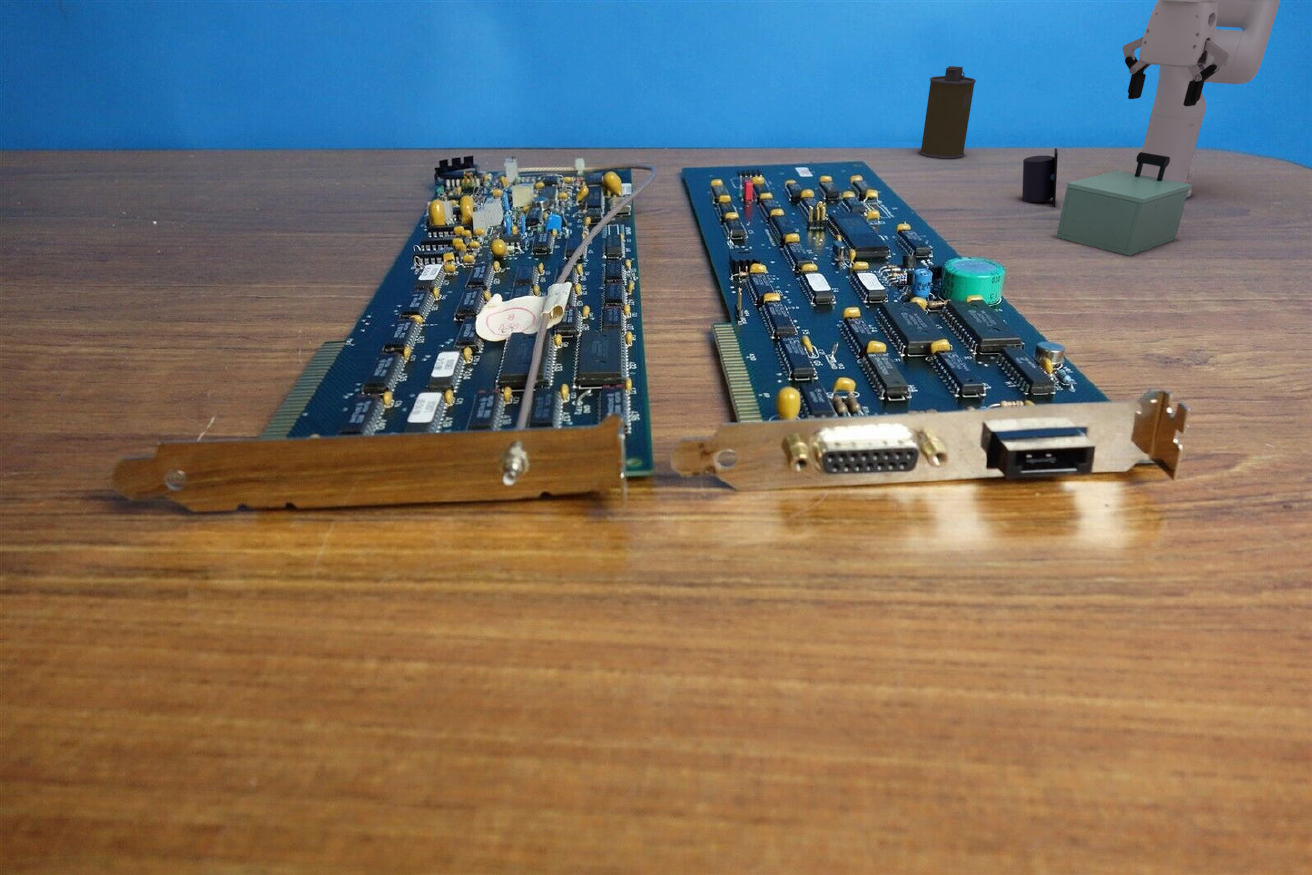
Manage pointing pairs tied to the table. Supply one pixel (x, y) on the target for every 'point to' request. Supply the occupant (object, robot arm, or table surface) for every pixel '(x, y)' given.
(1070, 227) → the cool box
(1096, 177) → the cool box lid
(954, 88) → the canister
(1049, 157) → the speaker
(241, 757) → the table surface
